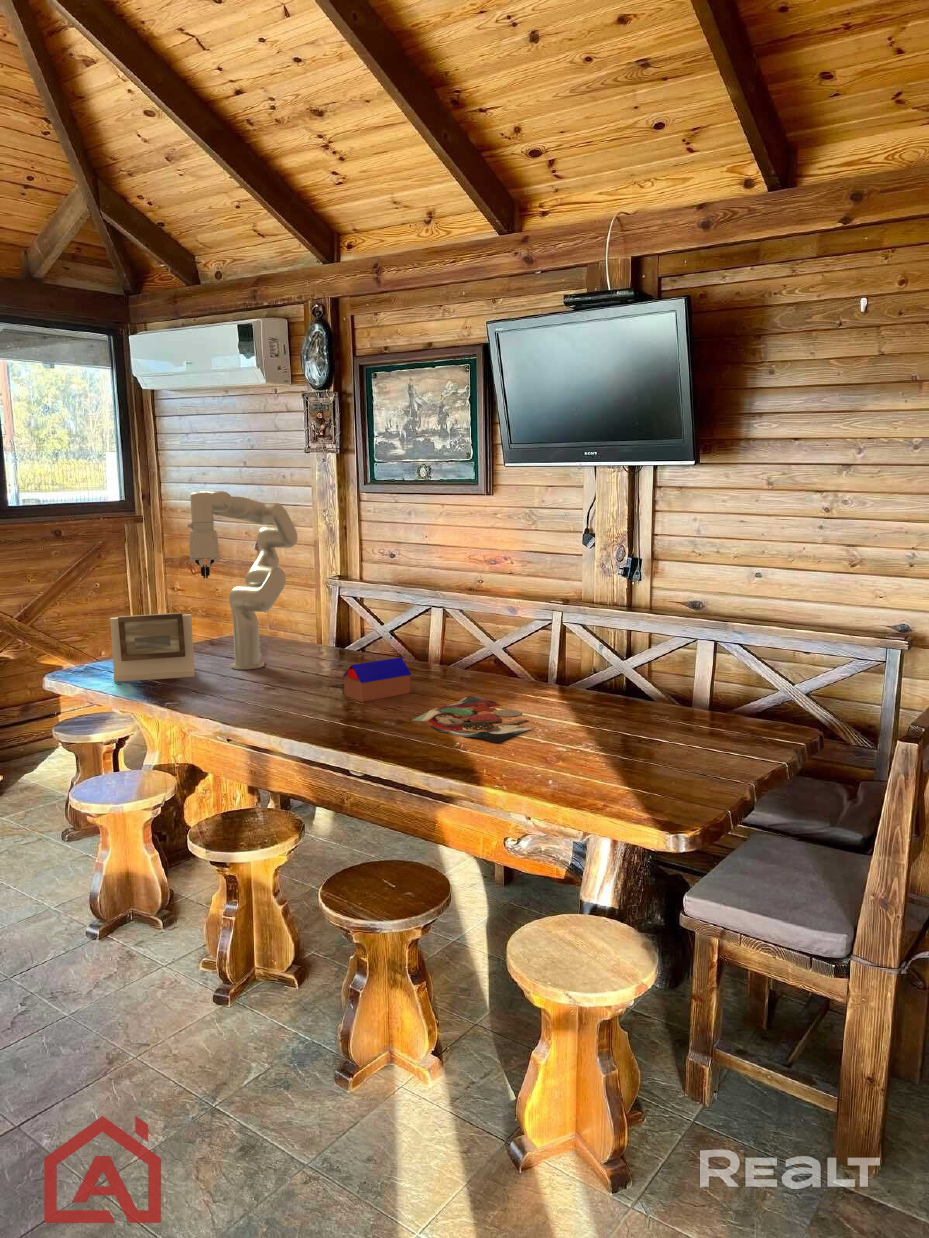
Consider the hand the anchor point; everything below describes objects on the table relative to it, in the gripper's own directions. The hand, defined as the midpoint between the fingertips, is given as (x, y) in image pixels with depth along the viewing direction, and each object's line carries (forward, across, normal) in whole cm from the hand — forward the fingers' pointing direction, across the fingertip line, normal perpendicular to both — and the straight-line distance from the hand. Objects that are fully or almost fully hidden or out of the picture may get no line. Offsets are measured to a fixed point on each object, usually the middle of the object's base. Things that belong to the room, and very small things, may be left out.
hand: (205, 577), depth 330 cm
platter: (+38, +79, -83) cm, 121 cm away
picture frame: (+29, -20, +3) cm, 35 cm away
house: (+38, +54, -42) cm, 78 cm away
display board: (+37, -20, +8) cm, 43 cm away
